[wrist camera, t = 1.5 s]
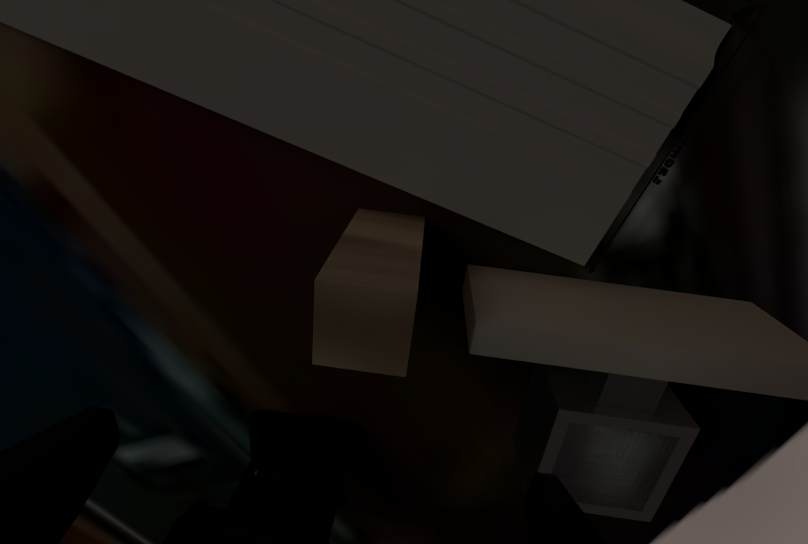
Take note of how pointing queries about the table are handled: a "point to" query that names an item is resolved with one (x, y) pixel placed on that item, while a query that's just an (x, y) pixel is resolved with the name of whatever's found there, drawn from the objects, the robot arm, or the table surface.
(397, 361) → the rail post
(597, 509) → the square open holder
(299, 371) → the table surface
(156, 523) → the table surface
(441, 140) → the baseboard molding
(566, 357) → the board
